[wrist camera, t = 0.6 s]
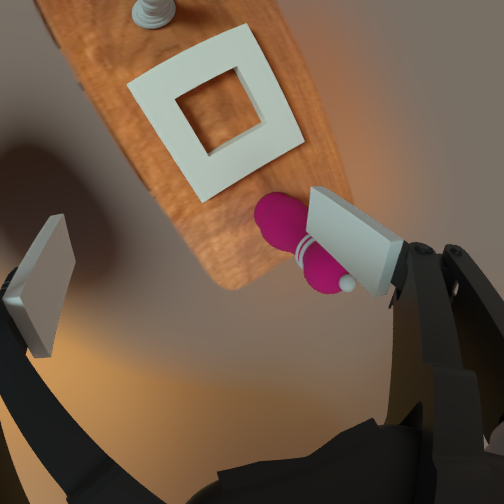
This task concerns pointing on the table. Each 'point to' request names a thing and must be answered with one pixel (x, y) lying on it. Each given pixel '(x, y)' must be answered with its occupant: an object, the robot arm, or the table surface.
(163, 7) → the chess piece
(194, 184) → the socket board
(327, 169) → the table surface
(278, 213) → the pepper mill
